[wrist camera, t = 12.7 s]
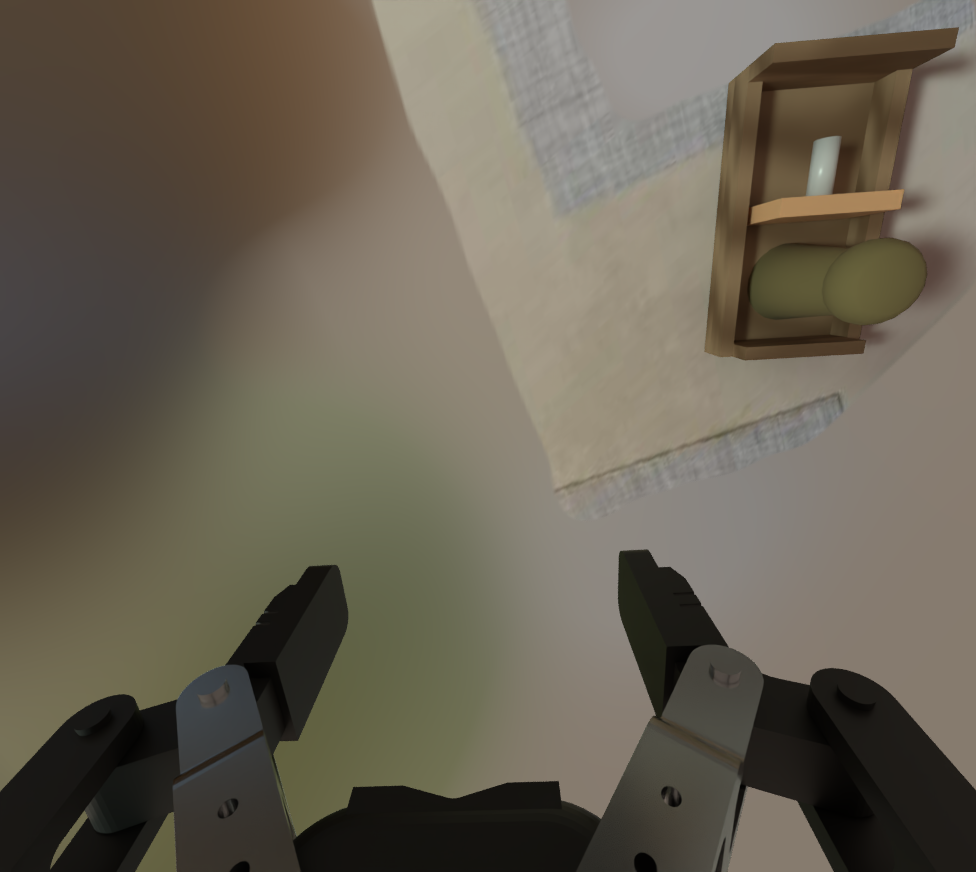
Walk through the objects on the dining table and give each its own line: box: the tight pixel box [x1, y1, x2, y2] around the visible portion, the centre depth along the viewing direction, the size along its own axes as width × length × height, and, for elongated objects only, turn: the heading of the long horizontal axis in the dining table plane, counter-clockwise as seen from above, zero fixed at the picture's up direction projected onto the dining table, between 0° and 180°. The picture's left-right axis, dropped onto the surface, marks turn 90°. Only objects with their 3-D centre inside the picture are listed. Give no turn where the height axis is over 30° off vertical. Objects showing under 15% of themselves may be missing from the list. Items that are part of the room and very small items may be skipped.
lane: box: [705, 27, 959, 360], centre depth 34 cm, size 20×11×6 cm, turn 4°
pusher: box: [747, 136, 904, 226], centre depth 32 cm, size 5×8×5 cm, turn 94°
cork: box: [747, 238, 927, 325], centre depth 32 cm, size 6×6×11 cm
